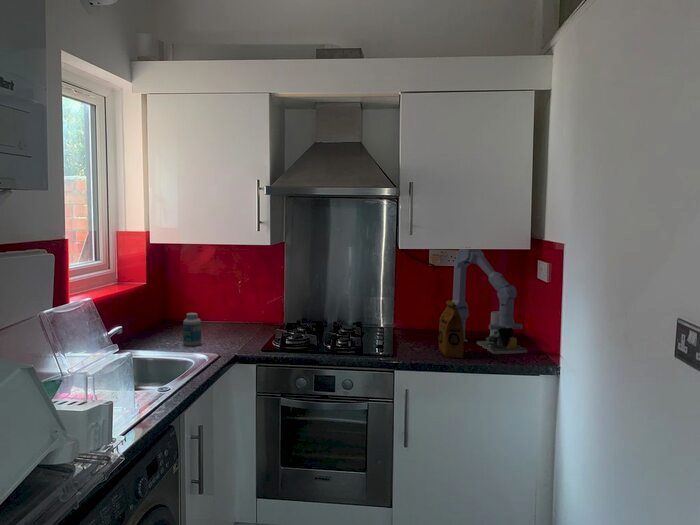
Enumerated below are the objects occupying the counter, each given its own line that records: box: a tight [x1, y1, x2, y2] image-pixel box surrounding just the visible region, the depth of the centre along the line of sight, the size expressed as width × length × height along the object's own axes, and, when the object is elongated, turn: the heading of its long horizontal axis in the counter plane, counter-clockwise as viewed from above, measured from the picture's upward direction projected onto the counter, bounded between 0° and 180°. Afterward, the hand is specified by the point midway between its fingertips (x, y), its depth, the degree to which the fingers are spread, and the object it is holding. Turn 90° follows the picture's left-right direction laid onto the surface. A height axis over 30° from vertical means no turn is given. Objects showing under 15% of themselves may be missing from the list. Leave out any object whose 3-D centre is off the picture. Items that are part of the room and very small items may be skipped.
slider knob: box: [507, 336, 518, 348], centre depth 228 cm, size 3×3×4 cm
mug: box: [489, 310, 515, 336], centre depth 254 cm, size 12×8×12 cm
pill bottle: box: [182, 312, 202, 347], centre depth 231 cm, size 8×7×14 cm
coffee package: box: [437, 299, 465, 359], centre depth 221 cm, size 10×12×22 cm
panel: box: [476, 331, 528, 355], centre depth 233 cm, size 15×18×6 cm
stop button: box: [488, 335, 497, 343], centre depth 232 cm, size 4×4×2 cm
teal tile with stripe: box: [485, 333, 499, 341], centre depth 239 cm, size 11×4×1 cm, turn 100°
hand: (504, 345), depth 227 cm, fingers closed
